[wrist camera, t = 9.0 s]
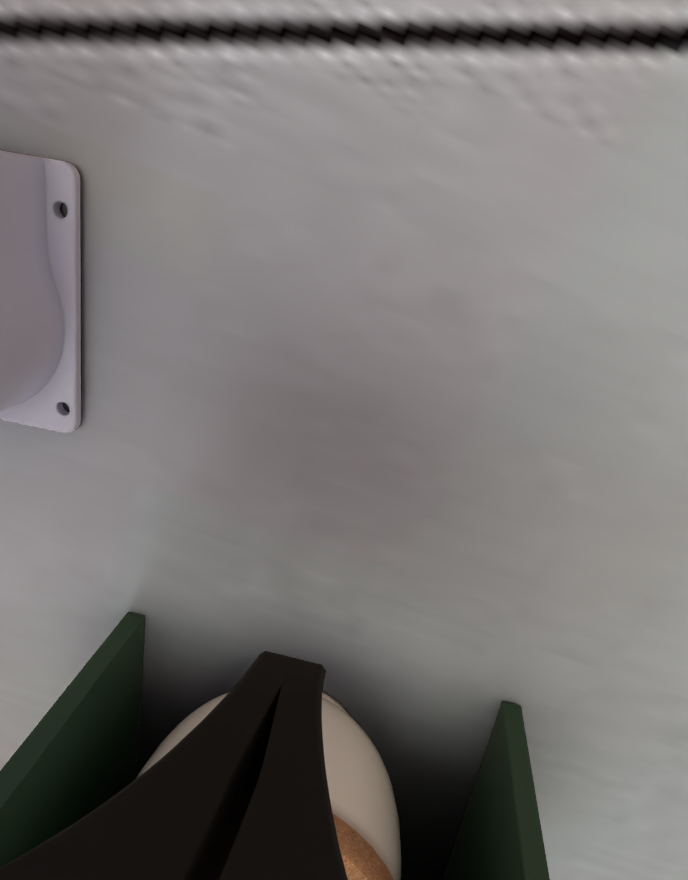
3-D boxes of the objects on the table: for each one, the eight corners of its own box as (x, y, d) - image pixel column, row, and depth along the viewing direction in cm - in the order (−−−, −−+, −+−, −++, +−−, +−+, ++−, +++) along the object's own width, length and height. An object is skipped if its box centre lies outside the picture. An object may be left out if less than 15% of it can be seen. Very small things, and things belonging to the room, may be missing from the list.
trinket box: (463, 758, 26) (474, 1031, 17) (295, 853, 29) (234, 1119, 21) (287, 591, 24) (201, 799, 16) (133, 714, 28) (-7, 939, 19)
